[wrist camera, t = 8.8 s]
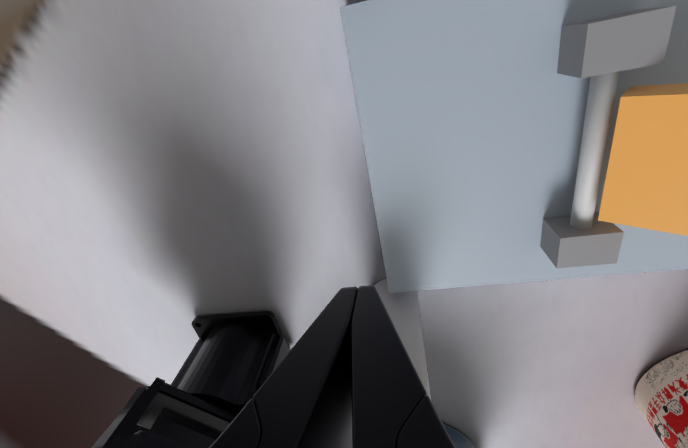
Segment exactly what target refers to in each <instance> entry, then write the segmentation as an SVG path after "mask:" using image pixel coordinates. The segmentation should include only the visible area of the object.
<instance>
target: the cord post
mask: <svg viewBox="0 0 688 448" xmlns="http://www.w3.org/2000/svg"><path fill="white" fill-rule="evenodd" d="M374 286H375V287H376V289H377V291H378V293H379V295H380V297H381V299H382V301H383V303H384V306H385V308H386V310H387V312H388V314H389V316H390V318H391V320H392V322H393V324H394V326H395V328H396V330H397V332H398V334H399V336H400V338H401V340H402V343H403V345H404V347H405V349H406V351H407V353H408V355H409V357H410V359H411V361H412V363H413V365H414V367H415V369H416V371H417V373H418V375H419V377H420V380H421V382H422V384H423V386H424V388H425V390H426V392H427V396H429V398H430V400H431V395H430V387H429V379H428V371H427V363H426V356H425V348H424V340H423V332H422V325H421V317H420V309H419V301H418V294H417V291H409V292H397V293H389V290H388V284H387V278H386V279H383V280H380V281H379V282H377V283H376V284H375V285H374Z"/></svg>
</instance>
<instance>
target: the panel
mask: <svg viewBox="0 0 688 448" xmlns="http://www.w3.org/2000/svg"><path fill="white" fill-rule="evenodd" d="M340 11H341V17H342V23H343V28H344V34H345V40H346V46H347V52H348V57H349V63H350V69H351V75H352V81H353V86H354V92H355V98H356V104H357V110H358V116H359V121H360V127H361V133H362V139H363V145H364V150H365V156H366V162H367V168H368V174H369V179H370V185H371V191H372V197H373V203H374V209H375V214H376V220H377V226H378V232H379V238H380V243H381V249H382V255H383V261H384V267H385V272H386V278H387V284H388V290H389V293H397V292H409V291H421V290H434V289H446V288H459V287H471V286H484V285H496V284H508V283H521V282H533V281H546V280H558V279H570V278H583V277H595V276H608V275H620V274H633V273H645V272H657V271H670V270H682V269H688V236H685V235H679V234H674V233H668V232H662V231H656V230H650V229H644V228H639V227H633V226H627V225H621V224H615V223H610V222H604V221H598V217H599V212H600V206H601V201H602V196H603V190H604V185H605V180H606V174H607V169H608V163H609V158H610V153H611V147H612V142H613V137H614V131H615V126H616V120H617V115H618V110H619V104H620V99H621V96H622V95H623V94H624V93H625V92H626V91H627V90H628V89H629V88H630V87H631V86H644V85H662V84H679V83H688V0H367V1H363V2H359V3H355V4H351V5H347V6H343V7H340Z"/></svg>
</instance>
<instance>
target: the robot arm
mask: <svg viewBox="0 0 688 448" xmlns="http://www.w3.org/2000/svg"><path fill="white" fill-rule="evenodd" d="M267 318H268V319H267ZM192 326H193V328H194V329H195V331H196V333H197V335H198V336H199V340H198V342H197V343H196V345H195V347H194V348H193V350H192V351H191V353H190V355H189V356H188V358H187V360H186V361H185V363H184V364H183V366H182V368H181V369H180V371H179V373H178V374H177V376H176V377H175V379H174V381H173V382H172V384H171V385H169V384H167V383H165V380H162V379H160V378H158V377H157V378H156V379H155V381H154V382H153V383H152V385H151V386H148V387H142V388H138V389H137V390H136V392H135V393H134V394H133V396H132V397H131V399H130V400H129V402H128V403H127V404H126V406H125V407H124V409H123V410H122V411H121V413H120V414H119V415H118V416H117V418H116V419H115V420H114V422H113V423H112V424H111V425H110V426H109V427H108V429H107V430H106V431H105V432H104V433H103V435H102V436H101V437H100V438H99V439H98V440H97V442H96V443H95V444H94V445H93V447H92V448H456V447H455V445H454V444H453V442H452V440H451V439H450V437H449V435H448V433H447V431H446V429H445V427H444V425H443V423H442V422H441V420H440V418H439V416H438V414H437V412H436V410H435V408H434V406H433V404H432V402H431V400H430V398H429V396H427V392H426V390H425V388H424V386H423V384H422V382H421V380H420V377H419V375H418V373H417V371H416V369H415V367H414V365H413V363H412V361H411V359H410V357H409V355H408V353H407V351H406V349H405V347H404V345H403V343H402V340H401V338H400V336H399V334H398V332H397V330H396V328H395V326H394V324H393V322H392V320H391V318H390V316H389V314H388V312H387V310H386V308H385V306H384V303H383V301H382V299H381V297H380V295H379V293H378V291H377V289H376V287H375V286H373V285H371V286H360V287H359V288H357V287H347V288H342V289H340V290H339V292H338V293H337V294H336V295H335V296H334V298H333V299H332V300H331V301H330V303H329V304H328V305H327V306H326V307H325V309H324V310H323V311H322V312H321V314H320V315H319V316H318V317H317V319H316V320H315V321H314V322H313V323H312V325H311V326H310V327H309V328H308V330H307V331H306V332H305V333H304V334H303V336H302V337H301V338H300V339H299V341H298V342H297V343H296V344H295V345H294V347H293V348H292V349H291V350H289V348H288V345H287V343H286V340H285V338H284V337H283V335H282V334H281V331H280V329H279V326H278V324H277V321H276V319H275V316H274V314H273V313H271V312H269V311H262V312H249V313H236V314H223V315H209V316H198V317H195V319H194V320H193V321H192ZM142 426H144V427H146V428H144V427H142ZM147 428H149V429H150V430H149V429H147Z"/></svg>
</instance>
